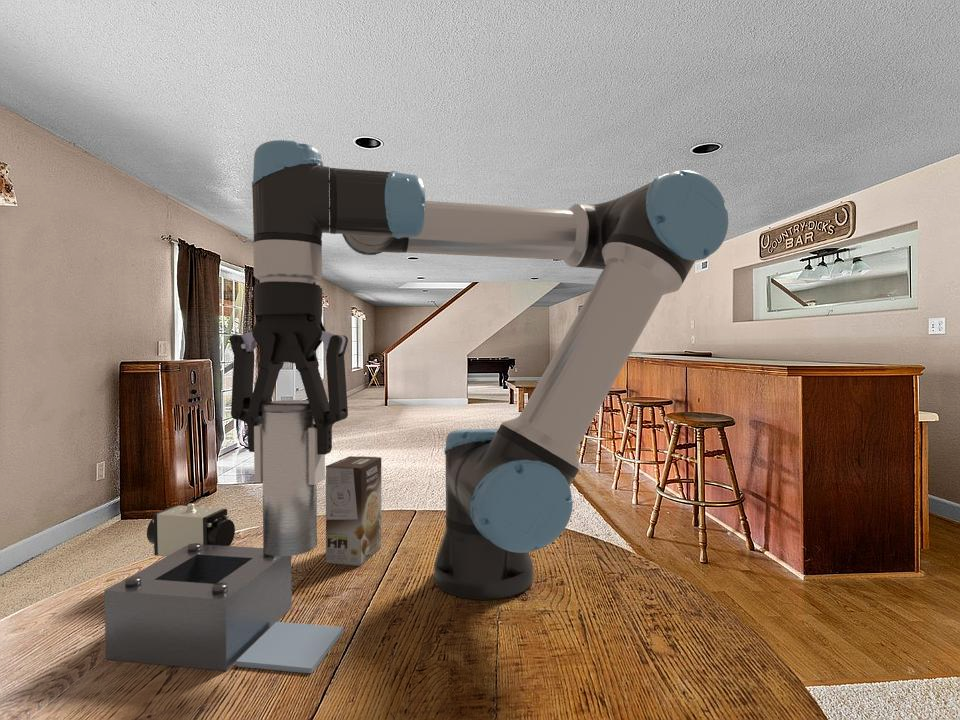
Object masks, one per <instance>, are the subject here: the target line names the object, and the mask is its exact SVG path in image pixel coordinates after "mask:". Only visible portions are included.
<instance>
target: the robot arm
mask: <svg viewBox="0 0 960 720" xmlns="http://www.w3.org/2000/svg"><path fill="white" fill-rule="evenodd" d="M251 187H252V189H251V190H252V192H251V193H252V218H253V219H252V220H253V225H252V226H253V277H254V278H255V279H257V280H258V281H259V282H256V283H255V285H254V286H253V312H254V315H255V323H254V326H253V327H252V331H250V332H246V333H243V334H232V335H231V336H230V338H229V343H230V346H231V350H232V354H233V365H232V366H233V367H232V383H231V384H232V386H231V387H232V388H231V405H230V406H231V407H230V416H231V418H232V419H234V420H239V421H242V422H244V423H245V424H246V426H247V449H248V451H249V453H253V454H254V455H253V461H254V462H253V463H254V468H253V469H254V471H253V472H254V477H253V478H254V483H263V465H262V403H264V402H270V401H272V398H273V395H274V391H275V387H276V384H277V381H278V377H279V374H280V371H281V370H282V368H283V367H284V364H285V363H291V364H294V365H295V369H296V370H297V371H298V372H299V375H300V378H301V381H302V384H303V385H302V386H303V388H304V391H305V394H306V399H307V400H308V402H309V405H310V408H311V412H312V415H313V418H314V422H315V424H313V427H310V428H308V433H309V485H316V484H317V485H318V484H319V483H321V482H323V481H326V458H325V457H326V455H328V454H330V453H331V451H332V449H333V430H332V429H333V425H334V424H335V423H337V422H340V421H343V420H345V419H347V418H348V415H349V407H348V395H347V394H348V393H347V392H348V391H347V380H346V379H347V378H346V377H347V376H346V364H345V363H346V362H345V361H346V360H345V353H346V351H347V348H348V344H349V338H348V337H347V336H346V335H345V334H344V335H343V334H339V335H338V334H334V333H331V332H327V330H326V327H325V326H324V324H323V322H322V321H323V320H322V319H323V288H322V287H321V285H320V284H318V282H320V281H321V280H322V279H323V250H322V249H323V248H322V247H323V241H322V239H323V233H324V234H325V233H326V234H332V235H336V234H338V235H342V237H343V239H344V241H345V243H346V245H348V247H349V248H350V250H352V251H354V252H355V253H357V254H360V255H361V256H375V255H378V254H382V253H393V254H397V253H398V254H401V253H405V254H406V253H409V254H429V255H450V256H451V255H452V256H453V255H454V256H470V257H471V256H472V257H489V258H490V257H493V258H514V259H516V258H517V259H533V260H535V259H536V260H537V259H538V260H552V261H553V260H558V261H559V260H560V261H564V262H565V264H566V265H567V266H568V267H570V268H583V269H597V270H602V272H601V273H600V274H599V276H598V278H597V280H596V282H595V284H594V285H593V287H592V288H591V291H590V292H589V294H588V296H587V298H586V299H585V301H584V303H583V304H582V306H581V308H580V309H579V311H578V313H577V315H576V317H575V319H574V320H573V322H572V323H571V325H570V326H569V329H568V331H567V332H566V334H565V335H564V337H563V339H562V341H561V342H560V345H559V347H558V348H557V350H556V351H555V353H554V355H553V357H552V358H551V360H550V362H549V363H548V366H546V369H545V370H544V372H543V374H542V376H541V377H540V379H539V380H538V383H537V385H536V386H535V388H534V389H533V392H532V393H531V395H530V397H529V398H528V400H527V402H526V404H525V406H524V407H523V409H522V411H521V412H520V414H519V415H518V417H516V418H513V419H510V420H509V419H508V420H505V421H502V422H501V424H500V426H499V427H498V428H477V429H474V428H473V429H459V430H458V429H457V430H452V431H450V432H449V433H448V434H447V435H446V440H445V448H444V451H443V452H444V455H445V530H444V533H443V536H442V539H441V542H440V545H439V549H438V551H437V554H436V558H435V560H434V561H435V562H434V566H433V576H434V577H433V578H434V579H433V580H434V583H435V584H436V586H437V587H438V588H439V589H440V590H442V591H444V592H445V593H447V594H449V595H452V596H455V597H459V598H464V599H470V600H497V599H505V598H510V597H514V596H516V595H518V594H520V593H523V592H525V591H526V590H527V589H529V588H530V586H531V585H532V584H533V581H534V563H533V561H532V557H531V555H530V552H534V551H537V550H542V549H544V548H545V547H547V546H549V545H550V544H552V543H553V542H554V541H556V540H557V539H558V538H559V537H560V536H561V534H563V532H564V531H565V530H566V528H567V526H568V524H569V522H570V519H571V516H572V513H573V512H572V511H573V504H574V501H573V499H572V491H571V490H572V489H571V485H572V483H573V481H574V480H575V478H576V476H577V475H578V472H579V471H580V468H581V465H580V461H579V457H578V454H577V451H578V448H579V446H580V444H581V443H582V440H583V438H584V437H585V436H586V433H587V432H588V429H589V427H590V426H591V425H592V422H593V420H594V419H595V417H596V415H597V414H598V412H599V410H600V408H601V406H602V405H603V403H604V401H605V399H606V397H608V395H609V392H610V391H611V388H612V387H613V385H614V383H615V381H616V379H617V378H618V376H619V374H620V372H621V371H622V370H623V367H624V365H625V363H626V362H627V361H628V358H629V356H630V355H631V352H632V351H633V349H634V347H635V346H636V344H637V342H638V341H639V338H640V337H641V335H642V333H643V331H644V329H645V328H646V326H647V324H648V322H649V320H650V319H651V317H652V315H653V314H654V312H655V310H656V308H657V306H658V304H659V303H660V301H661V299H662V298H663V296H664V295H667V294H672V293H675V292H677V291H679V290H680V289H681V288H682V286H683V284H684V283H685V280H686V279H687V277H688V275H689V273H690V271H691V269H692V268H693V266H694V264H695V262H697V261H701V260H705V259H707V258H708V257H710V255H713V254H714V253H715V252H716V251H718V249H720V247H721V246H722V245H723V243H724V241H725V239H726V236H727V234H728V229H729V212H728V209H727V208H726V206H725V198H724V196H723V195H722V193H721V191H720V190H719V188H718V187H717V186H716V184H715V183H714V182H712V181H711V180H710V179H709V178H708V177H706V176H705V175H704V174H701V173H698V172H696V171H693V170H685V169H684V170H677V171H673V172H670V173H665V174H662V175H661V174H660V175H659V176H657V177H656V178H654V179H653V181H651V182H649V183H646V184H645V185H643V186H640V187H638V188H636V189H635V190H632V191H630V192H628V193H626V194H624V195H622V196H619V197H617V198H615V199H612V200H609V201H604V202H599V203H593V204H585V203H584V204H582V203H575V204H573V205H572V206H570V207H569V208H568V209H553V208H540V207H525V206H510V205H509V206H508V205H496V204H495V205H494V204H481V203H479V204H478V203H467V202H465V203H464V202H454V201H453V202H449V201H436V200H426V189H425V184H424V182H423V179H422V178H421V177H419V176H418V175H416V174H411V173H410V174H408V173H403V172H397V171H395V170H392V171H379V170H367V169H365V170H364V169H351V168H336V167H330V166H326V165H325V166H324V163H323V160H322V155H321V152H320V151H319V150H318V149H317V148H316V147H314V146H312V145H310V144H308V143H299V142H297V141H294V140H281V139H279V140H270V141H265V142H264V143H261V144H260V145H258V147H256V149H255V151H254V155H253V176H252V182H251ZM322 343H323V349H324V350H325V352H326V355H325V362H326V364H325V365H326V377H327V378H326V379H327V380H326V383H327V394H328V397H327V394H326V390H325V386H324V382H323V379H322V377H321V376H322V375H321V373H320V370H319V369H320V368H319V366H320V363H319V361H318V357H317V354H316V351H317V350H318V348H319V346H321V344H322ZM257 345H258V346H259V348H260V349H261V351H262V352H261V354H260V358H259V363H258V368H259V371H258V374H257V377H256V380H255V384H254V378H255V377H254V376H255V350H256V348H257Z"/></svg>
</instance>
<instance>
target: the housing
mask: <svg viewBox="0 0 960 720" xmlns="http://www.w3.org/2000/svg"><path fill="white" fill-rule="evenodd" d="M103 591H104V593H103V595H104V602H103V603H104V635H105V636H104V638H105V642H104V643H105V660H110V661H120V662H130V663H141V664H152V665H159V666H170V667H172V666H173V667H180V668H181V667H182V668H190V669H192V668H193V669H202V670H212V671H221V672H222V671H224V672H228V670H229V669H230V668H232V666H233V665H235V664H236V661H237V660H238V659H239V658H240V657H241V656H242V655H243V654H244V653H245V652H246V651H247V650H248V649H249V648H250V647H251V646H252V645H253V644H254V643H255V642H256V641H257V640H258V639H259V638H260V637H261V636H262V635H263V634H264V633H265V632H266V631H267V630H268V629H269V628H270V627H272V626H273V625H274V624H275V623H276V622H279V621H280V620H281V619H282V618H283V617H284V616H285V615H286V614H287V613H288V612H289V611H290V610H291V609H292V608H293V605H292V601H293V599H292V597H293V596H292V593H293V592H292V556H272V555H268V554H266V553H265V552H264V551H263V547H252V546H251V547H250V546H237V545H235V546H234V545H230V546H221V545H205V544H200V543H194V544H189V545H187V546H185V547H183V548H182V549H180V550H178V551H176V552H174V553H172V554H170V555H169V556H167V557H166V556H164V558H162V559H159V560H158V561H156V562H154V563H153V564H151V565H148V566H147V567H145V568H143V569H141V570H140V571H138V572H135V573H134V574H132V575H130V576H128V577H126V578H124V579H122V580H121V581H119V582H117V583H115V584H113V585H111V586H109V587H108V588H106V589H104V590H103Z"/></svg>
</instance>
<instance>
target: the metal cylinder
mask: <svg viewBox="0 0 960 720" xmlns="http://www.w3.org/2000/svg"><path fill="white" fill-rule="evenodd" d="M313 424H315V422H314V418H313V415H312V412H311V408H310V405H309V402H308V399H284V400H281V399H280V400H271V401H270V402H264V403H262V465H263V482H262V548H263V551H264V552H265V553H266V554H268V555H272V556H291V557H292V556H293V557H294V556H297V555H298V556H299V555H302V554H306V553H309V552H311V551H313V550H314V549H316V548H317V546H318V508H317V507H318V506H317V505H318V503H317V502H318V493H317V492H318V489H317V488H318V486H317V485H318V484H316V485H309V433H308V428H310V427H313Z"/></svg>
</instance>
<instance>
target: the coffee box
mask: <svg viewBox="0 0 960 720" xmlns="http://www.w3.org/2000/svg"><path fill="white" fill-rule="evenodd" d="M382 459H383V457H378V456H352V455H350V456H347V457H345V458H342V459H340V460H338V461H335V462H333V463H330V464H328V465H325V563H326V564H334V565H342V566H343V565H346V566H355V567H359V566H362V565H363V564H364V563H365V562H366V561H367V560H369V558H371V557H372V556H373V555H374V554H375V553H376V552H377V551H379V549H381V548H382Z"/></svg>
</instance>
